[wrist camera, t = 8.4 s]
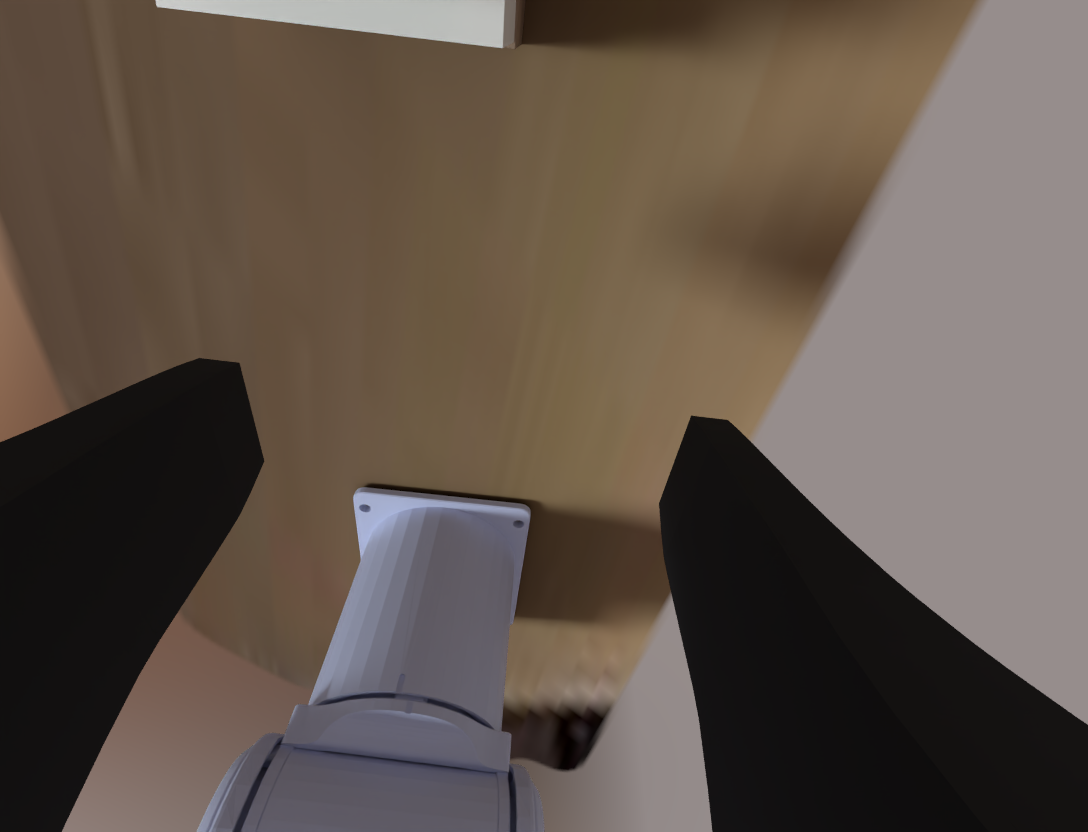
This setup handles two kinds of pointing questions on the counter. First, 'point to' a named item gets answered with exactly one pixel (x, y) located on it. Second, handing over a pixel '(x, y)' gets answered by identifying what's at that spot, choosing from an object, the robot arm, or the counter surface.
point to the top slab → (380, 16)
